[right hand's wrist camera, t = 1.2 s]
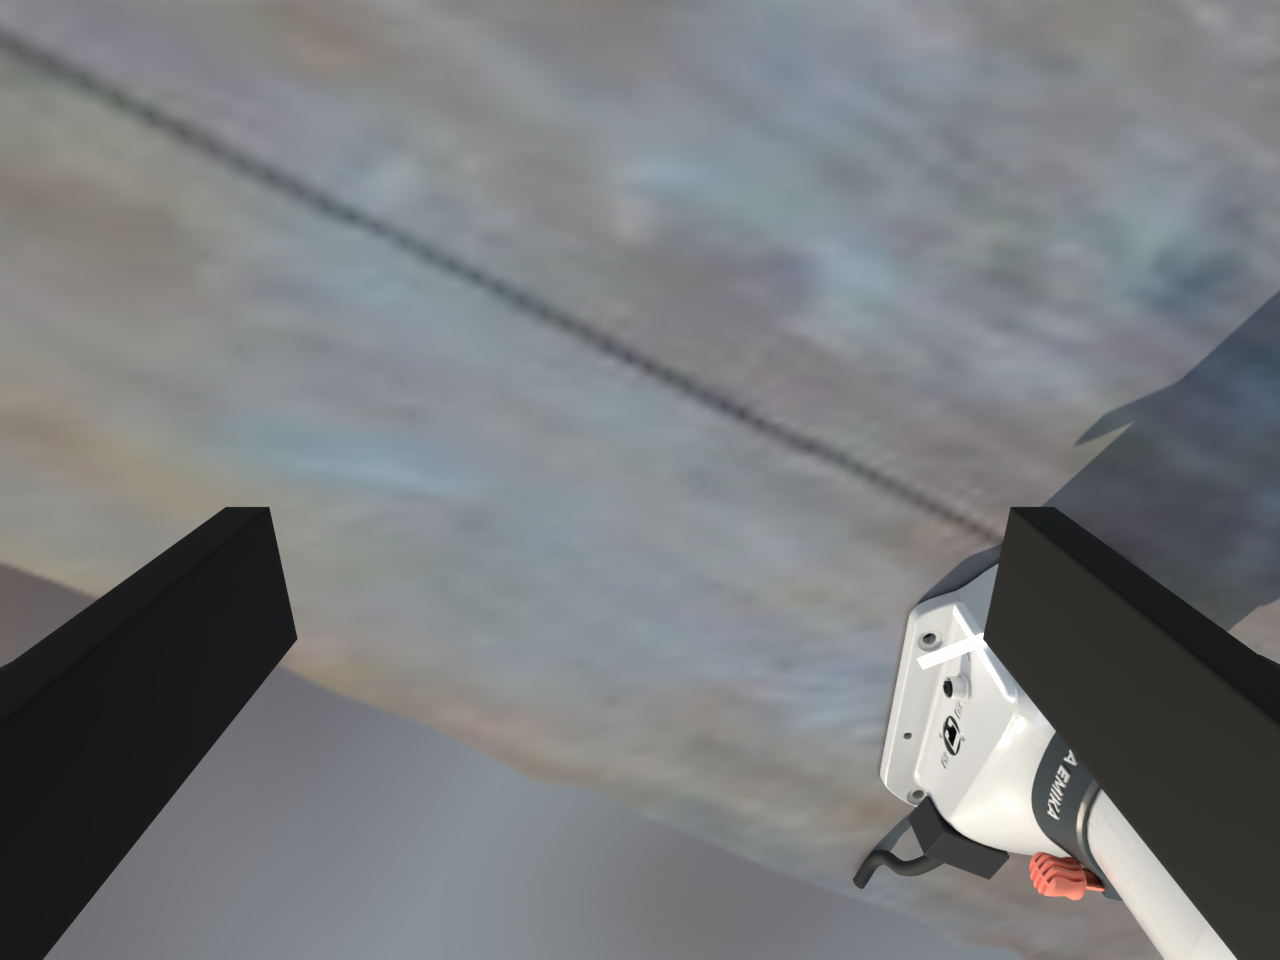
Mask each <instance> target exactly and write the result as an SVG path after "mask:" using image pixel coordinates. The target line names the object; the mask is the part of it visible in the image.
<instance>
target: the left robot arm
mask: <svg viewBox="0 0 1280 960" xmlns="http://www.w3.org/2000/svg"><path fill="white" fill-rule="evenodd" d="M1129 562H1130V561H1129ZM998 564H999V563H998ZM998 564H996V565H995V566H993V567H991V568H990V569H988V570H987V571H985V572H984V573H982V574H981V575H980V576H978V577H977V578H976V579H974V580H973V581H971V582H970V583H969V584H967V585H965V586H964V587H962V588H960V589H959V590H957V591H954V592H950V593H947V594H944V595H940V596H937V597H934V598H931V599H929V600H926V601H924V602H922V603H920V604H919V605H917V606H916V607H915V608H914V609H913V610H912V612H911V613H910V616H909V620H908V625H907V630H906V636H905V641H904V646H903V652H902V657H901V662H900V668H899V673H898V678H897V683H896V689H895V694H894V699H893V705H892V710H891V715H890V721H889V726H888V731H887V737H886V742H885V747H884V753H883V758H882V764H881V769H880V776H881V779H882V780H883V782H884V784H885V786H886V787H887V788H888V789H889V790H890V791H891V792H892V793H894V794H895V795H896V796H897V797H899V798H900V799H902V800H904V801H905V802H907V803H909V804H911V805H913V806H915V807H917V808H916V809H915V810H914V811H913V812H912V814H911V815H910V816H909V817H908V819H909V821H910V823H911V826H912V828H913V830H914V832H915V835H916V837H917V839H918V841H919V844H920V846H921V848H922V851H923V853H924V855H923V856H921V857H919V858H917V859H914V860H910V861H902V860H900V859H899V858H897V857H896V856H895V855H894V854H892V853H891V852H889V851H886V850H877V851H875V852H873V853H871V854H870V855H869V856H868V857H867V858H866V860H865V861H864V862H863V864H862V866H861V867H860V869H859V871H858V872H857V874H856V876H855V877H854V878H853V881H854V883H855V885H856V886H857V887H859V888H860V889H863V888H864V887H865V885H866V884H867V883H868V881H869V879H870V878H871V876H872V874H873V873H874V871H875V870H876V868H877V867H879V866H880V865H882V864H884V865H886V866H888V867H889V868H890V869H891V870H893V871H894V872H895V873H897V874H899V875H902V876H917V875H921V874H924V873H926V872H928V871H931V870H932V869H934V868H936V867H938V866H940V865H942V864H944V863H946V864H949V865H951V866H954V867H957V868H959V869H962V870H965V871H967V872H970V873H973V874H975V875H978V876H981V877H983V878H986V879H990V878H991V877H992V876H993V875H994V874H995V873H996V872H997V871H998V870H999V869H1000V867H1001V866H1002V865H1003V864H1004V863H1005V862H1006V861H1007V860H1008V859H1009V855H1008V853H1007V852H1006V851H1009V852H1014V853H1019V854H1026V855H1033V857H1032V859H1031V863H1030V871H1032V873H1031V879H1032V881H1034V886H1035V888H1038V892H1040V893H1041V894H1044V895H1046V896H1066V897H1068V898H1070V899H1072V900H1078V899H1081V898H1082V897H1083V896H1084V894H1085V892H1086V889H1089V890H1096V891H1101V892H1102V894H1103V895H1104V896H1105V897H1106V898H1110V899H1115V900H1120V901H1124V902H1125V904H1126V905H1127V907H1128V908H1129V910H1130V911H1131V912H1132V914H1133V915H1134V917H1135V918H1136V920H1137V921H1138V922H1139V924H1140V925H1141V927H1142V928H1143V930H1144V931H1145V932H1146V934H1147V935H1148V937H1149V938H1150V940H1151V941H1152V942H1153V944H1154V945H1155V947H1156V948H1157V950H1158V951H1159V952H1160V954H1161V955H1162V957H1163V958H1164V960H1237V959H1236V957H1235V956H1234V955H1233V954H1232V952H1231V951H1230V950H1229V949H1228V947H1227V946H1226V945H1225V944H1224V942H1223V941H1222V940H1221V939H1220V937H1219V936H1218V935H1217V933H1216V932H1215V931H1214V930H1213V928H1212V927H1211V926H1210V925H1209V923H1208V922H1207V921H1206V920H1205V918H1204V917H1203V916H1202V915H1201V913H1200V912H1199V911H1198V910H1197V908H1196V907H1195V906H1194V905H1193V903H1192V902H1191V901H1190V900H1189V898H1188V897H1187V896H1186V894H1185V893H1184V892H1183V891H1182V889H1181V888H1180V887H1179V886H1178V884H1177V883H1176V882H1175V881H1174V879H1173V878H1172V877H1171V876H1170V874H1169V873H1168V872H1167V871H1166V869H1165V868H1164V867H1163V866H1162V864H1161V863H1160V862H1159V860H1158V859H1157V858H1156V857H1155V855H1154V854H1153V853H1152V852H1151V850H1150V849H1149V848H1148V847H1147V845H1146V844H1145V843H1144V842H1143V840H1142V839H1141V838H1140V837H1139V835H1138V834H1137V833H1136V832H1135V830H1134V829H1133V828H1132V826H1131V825H1130V824H1129V823H1128V821H1127V820H1126V819H1125V818H1124V816H1123V815H1122V814H1121V813H1120V811H1119V810H1118V809H1117V808H1116V806H1115V805H1114V804H1113V803H1112V801H1111V800H1110V799H1109V798H1108V796H1107V795H1106V794H1105V792H1104V791H1103V790H1102V789H1101V787H1100V786H1099V785H1098V784H1097V782H1096V781H1095V780H1094V779H1093V777H1092V776H1091V775H1090V774H1089V772H1088V771H1087V770H1086V769H1085V767H1084V766H1083V765H1082V764H1081V762H1080V761H1079V760H1078V758H1077V757H1076V756H1075V755H1074V753H1073V752H1072V751H1071V750H1070V748H1069V747H1068V746H1067V745H1066V743H1065V742H1064V741H1063V740H1062V738H1061V737H1060V736H1059V735H1058V733H1057V732H1056V731H1055V730H1054V728H1053V727H1052V726H1051V724H1050V723H1049V722H1048V721H1047V719H1046V718H1045V717H1044V716H1043V714H1042V713H1041V712H1040V711H1039V709H1038V708H1037V707H1036V706H1035V704H1034V703H1033V702H1032V701H1031V699H1030V698H1029V697H1028V696H1027V694H1026V693H1025V692H1024V690H1023V689H1022V688H1021V687H1020V685H1019V684H1018V683H1017V682H1016V680H1015V679H1014V678H1013V677H1012V675H1011V674H1010V673H1009V672H1008V670H1007V669H1006V668H1005V667H1004V665H1003V664H1002V663H1001V662H1000V660H999V659H998V658H997V657H996V655H995V654H994V653H993V651H992V650H991V649H990V648H989V646H988V645H987V644H986V643H985V641H984V640H983V634H984V630H985V625H986V620H987V616H988V611H989V606H990V602H991V597H992V592H993V588H994V583H995V578H996V574H997V569H998ZM1133 565H1134V564H1133ZM928 633H932V634H931V635H930V636H929V637H927V638H923V637H924V636H925V635H926V634H928ZM1059 857H1063V858H1059ZM1079 863H1081V864H1082V865H1083V866H1084V867H1085V868H1082V866H1081V865H1080V864H1079Z"/></svg>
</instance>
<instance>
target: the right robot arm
mask: <svg viewBox="0 0 1280 960" xmlns="http://www.w3.org/2000/svg"><path fill="white" fill-rule="evenodd" d="M296 640H297V634H296V630H295V625H294V620H293V616H292V611H291V606H290V602H289V597H288V592H287V588H286V583H285V578H284V574H283V569H282V564H281V560H280V555H279V550H278V546H277V541H276V536H275V532H274V527H273V522H272V518H271V513H270V508H269V507H225V508H224V509H223V510H221V511H220V512H218V513H217V514H216V515H214V516H213V517H212V518H210V519H209V520H207V521H206V522H205V523H203V524H202V525H200V526H199V527H198V528H196V529H195V530H194V531H192V532H191V533H189V534H188V535H187V536H185V537H184V538H183V539H181V540H180V541H178V542H177V543H176V544H174V545H173V546H171V547H170V548H169V549H167V550H166V551H165V552H163V553H162V554H160V555H159V556H158V557H156V558H155V559H153V560H152V561H151V562H149V563H148V564H147V565H145V566H144V567H142V568H141V569H140V570H138V571H137V572H136V573H134V574H133V575H131V576H130V577H129V578H127V579H126V580H124V581H123V582H122V583H120V584H119V585H118V586H116V587H115V588H113V589H112V590H111V591H109V592H108V593H106V594H105V595H104V596H102V597H101V598H100V599H98V600H97V601H95V602H94V603H93V604H91V605H90V606H88V607H87V608H86V609H84V610H83V611H82V612H80V613H79V614H77V615H76V616H75V617H73V618H72V619H71V620H69V621H68V622H66V623H65V624H64V625H62V626H61V627H59V628H58V629H57V630H55V631H54V632H53V633H51V634H50V635H48V636H47V637H46V638H44V639H43V640H42V641H40V642H39V643H37V644H36V645H35V646H33V647H32V648H30V649H29V650H28V651H26V652H25V653H24V654H22V655H21V656H19V657H18V658H17V659H15V660H14V661H12V662H10V663H8V664H6V665H4V666H2V667H0V960H43V959H44V957H45V956H46V955H47V954H48V952H49V951H50V950H51V949H52V947H53V946H54V945H55V944H56V942H57V941H58V940H59V939H60V937H61V936H62V935H63V933H64V932H65V931H66V930H67V928H68V927H69V926H70V925H71V923H72V922H73V921H74V920H75V918H76V917H77V916H78V915H79V913H80V912H81V911H82V910H83V908H84V907H85V906H86V904H87V903H88V902H89V901H90V899H91V898H92V897H93V896H94V894H95V893H96V892H97V891H98V889H99V888H100V887H101V886H102V884H103V883H104V882H105V881H106V879H107V878H108V877H109V876H110V874H111V873H112V872H113V871H114V869H115V868H116V867H117V865H118V864H119V863H120V862H121V860H122V859H123V858H124V857H125V855H126V854H127V853H128V852H129V850H130V849H131V848H132V847H133V845H134V844H135V843H136V842H137V840H138V839H139V838H140V837H141V835H142V834H143V833H144V831H145V830H146V829H147V828H148V826H149V825H150V824H151V823H152V821H153V820H154V819H155V818H156V816H157V815H158V814H159V813H160V811H161V810H162V809H163V807H164V806H165V805H166V804H167V803H168V801H169V800H170V799H171V797H172V796H173V795H174V794H175V792H176V791H177V790H178V789H179V787H180V786H181V785H182V784H183V782H184V781H185V780H186V779H187V777H188V776H189V775H190V774H191V772H192V771H193V770H194V769H195V767H196V766H197V765H198V763H199V762H200V761H201V760H202V758H203V757H204V756H205V755H206V753H207V752H208V751H209V750H210V748H211V747H212V746H213V745H214V743H215V742H216V741H217V739H218V738H219V737H220V736H221V735H222V733H223V732H224V731H225V730H226V728H227V727H228V726H229V724H230V723H231V722H232V721H233V719H234V718H235V717H236V716H237V714H238V713H239V712H240V711H241V709H242V708H243V707H244V706H245V704H246V703H247V702H248V701H249V699H250V698H251V697H252V696H253V694H254V693H255V692H256V690H257V689H258V688H259V687H260V685H261V684H262V683H263V682H264V680H265V679H266V678H267V677H268V675H269V674H270V673H271V672H272V670H273V669H274V668H275V667H276V665H277V664H278V663H279V662H280V660H281V659H282V658H283V657H284V655H285V654H286V653H287V651H288V650H289V649H290V648H291V646H292V645H293V644H294V643H295V641H296ZM983 640H984V641H985V643H986V644H987V645H988V646H989V648H990V649H991V650H992V651H993V653H994V654H995V655H996V657H997V658H998V659H999V660H1000V662H1001V663H1002V664H1003V665H1004V667H1005V668H1006V669H1007V670H1008V672H1009V673H1010V674H1011V675H1012V677H1013V678H1014V679H1015V680H1016V682H1017V683H1018V684H1019V685H1020V687H1021V688H1022V689H1023V690H1024V692H1025V693H1026V694H1027V696H1028V697H1029V698H1030V699H1031V701H1032V702H1033V703H1034V704H1035V706H1036V707H1037V708H1038V709H1039V711H1040V712H1041V713H1042V714H1043V716H1044V717H1045V718H1046V719H1047V721H1048V722H1049V723H1050V724H1051V726H1052V727H1053V728H1054V730H1055V731H1056V732H1057V733H1058V735H1059V736H1060V737H1061V738H1062V740H1063V741H1064V742H1065V743H1066V745H1067V746H1068V747H1069V748H1070V750H1071V751H1072V752H1073V753H1074V755H1075V756H1076V757H1077V758H1078V760H1079V761H1080V762H1081V764H1082V765H1083V766H1084V767H1085V769H1086V770H1087V771H1088V772H1089V774H1090V775H1091V776H1092V777H1093V779H1094V780H1095V781H1096V782H1097V784H1098V785H1099V786H1100V787H1101V789H1102V790H1103V791H1104V792H1105V794H1106V795H1107V796H1108V798H1109V799H1110V800H1111V801H1112V803H1113V804H1114V805H1115V806H1116V808H1117V809H1118V810H1119V811H1120V813H1121V814H1122V815H1123V816H1124V818H1125V819H1126V820H1127V821H1128V823H1129V824H1130V825H1131V826H1132V828H1133V829H1134V830H1135V832H1136V833H1137V834H1138V835H1139V837H1140V838H1141V839H1142V840H1143V842H1144V843H1145V844H1146V845H1147V847H1148V848H1149V849H1150V850H1151V852H1152V853H1153V854H1154V855H1155V857H1156V858H1157V859H1158V860H1159V862H1160V863H1161V864H1162V866H1163V867H1164V868H1165V869H1166V871H1167V872H1168V873H1169V874H1170V876H1171V877H1172V878H1173V879H1174V881H1175V882H1176V883H1177V884H1178V886H1179V887H1180V888H1181V889H1182V891H1183V892H1184V893H1185V894H1186V896H1187V897H1188V898H1189V900H1190V901H1191V902H1192V903H1193V905H1194V906H1195V907H1196V908H1197V910H1198V911H1199V912H1200V913H1201V915H1202V916H1203V917H1204V918H1205V920H1206V921H1207V922H1208V923H1209V925H1210V926H1211V927H1212V928H1213V930H1214V931H1215V932H1216V933H1217V935H1218V936H1219V937H1220V939H1221V940H1222V941H1223V942H1224V944H1225V945H1226V946H1227V947H1228V949H1229V950H1230V951H1231V952H1232V954H1233V955H1234V956H1235V957H1236V959H1237V960H1280V664H1278V663H1276V662H1274V661H1272V660H1270V659H1268V658H1266V657H1264V656H1262V655H1260V654H1256V653H1255V652H1254V651H1252V650H1251V649H1250V648H1248V647H1247V646H1245V645H1244V644H1243V643H1241V642H1240V641H1239V640H1237V639H1236V638H1234V637H1233V636H1232V635H1230V634H1229V633H1227V632H1226V631H1225V630H1223V629H1222V628H1221V627H1219V626H1218V625H1216V624H1215V623H1214V622H1212V621H1211V620H1209V619H1208V618H1207V617H1205V616H1204V615H1203V614H1201V613H1200V612H1198V611H1197V610H1196V609H1194V608H1193V607H1192V606H1190V605H1189V604H1187V603H1186V602H1185V601H1183V600H1182V599H1180V598H1179V597H1178V596H1176V595H1175V594H1174V593H1172V592H1171V591H1169V590H1168V589H1167V588H1165V587H1164V586H1162V585H1161V584H1160V583H1158V582H1157V581H1156V580H1154V579H1153V578H1151V577H1150V576H1149V575H1147V574H1146V573H1144V572H1143V571H1142V570H1140V569H1139V568H1138V567H1136V566H1135V565H1133V564H1132V563H1131V562H1129V561H1128V560H1127V559H1125V558H1124V557H1122V556H1121V555H1120V554H1118V553H1117V552H1115V551H1114V550H1113V549H1111V548H1110V547H1109V546H1107V545H1106V544H1104V543H1103V542H1102V541H1100V540H1099V539H1097V538H1096V537H1095V536H1093V535H1092V534H1091V533H1089V532H1088V531H1086V530H1085V529H1084V528H1082V527H1081V526H1080V525H1078V524H1077V523H1075V522H1074V521H1073V520H1071V519H1070V518H1068V517H1067V516H1066V515H1064V514H1063V513H1062V512H1060V511H1059V510H1057V509H1056V508H1055V507H1011V508H1010V513H1009V518H1008V522H1007V527H1006V532H1005V536H1004V541H1003V546H1002V550H1001V555H1000V560H999V564H998V569H997V574H996V578H995V583H994V588H993V592H992V597H991V602H990V606H989V611H988V616H987V620H986V625H985V630H984V634H983Z"/></svg>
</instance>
